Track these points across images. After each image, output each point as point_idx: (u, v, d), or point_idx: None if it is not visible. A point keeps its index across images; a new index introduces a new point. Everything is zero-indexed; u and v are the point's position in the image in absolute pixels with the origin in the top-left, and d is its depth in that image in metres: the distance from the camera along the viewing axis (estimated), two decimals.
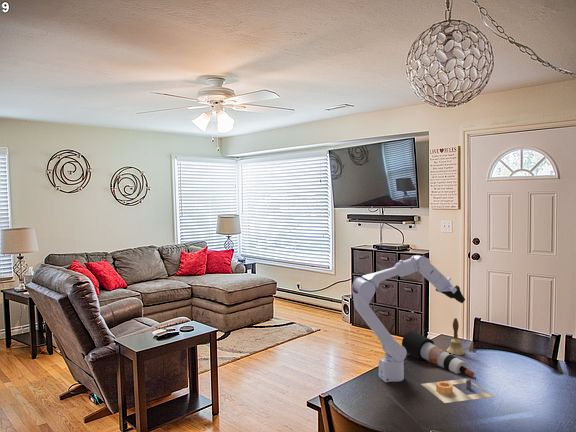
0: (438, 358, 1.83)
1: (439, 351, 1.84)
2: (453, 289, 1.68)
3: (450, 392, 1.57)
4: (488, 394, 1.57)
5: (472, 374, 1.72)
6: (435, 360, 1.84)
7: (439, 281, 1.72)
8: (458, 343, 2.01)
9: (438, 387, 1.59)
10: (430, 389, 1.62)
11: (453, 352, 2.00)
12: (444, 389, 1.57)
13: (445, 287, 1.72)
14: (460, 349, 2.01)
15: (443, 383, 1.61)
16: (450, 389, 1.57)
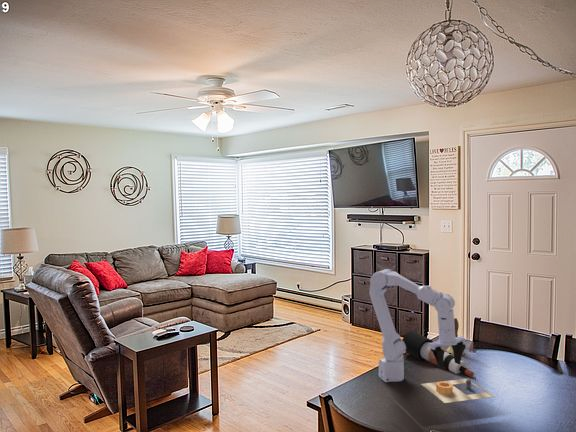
0: None
1: None
2: (431, 345, 1.57)
3: (450, 392, 1.57)
4: (488, 394, 1.57)
5: (472, 374, 1.72)
6: (435, 360, 1.84)
7: (439, 331, 1.60)
8: None
9: (438, 387, 1.59)
10: (430, 389, 1.62)
11: None
12: (444, 389, 1.57)
13: (439, 341, 1.59)
14: None
15: (443, 383, 1.61)
16: (450, 389, 1.57)
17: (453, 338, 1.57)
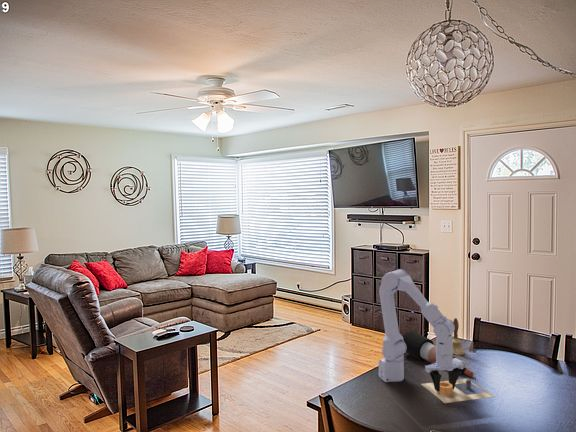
0: None
1: None
2: (426, 368, 1.58)
3: (450, 392, 1.57)
4: (488, 394, 1.57)
5: (471, 374, 1.72)
6: (435, 360, 1.83)
7: (436, 355, 1.59)
8: (458, 343, 2.01)
9: None
10: (430, 389, 1.62)
11: (453, 352, 2.00)
12: (444, 389, 1.57)
13: (436, 364, 1.59)
14: (460, 349, 2.01)
15: (443, 383, 1.61)
16: (450, 389, 1.57)
17: (449, 363, 1.57)
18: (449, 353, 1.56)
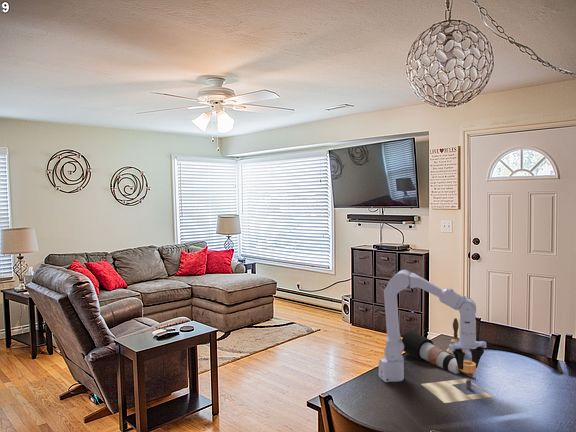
0: (437, 358, 1.83)
1: (438, 351, 1.84)
2: (450, 346, 1.59)
3: (474, 370, 1.59)
4: (488, 394, 1.57)
5: (471, 374, 1.72)
6: (434, 360, 1.83)
7: (459, 334, 1.61)
8: None
9: None
10: (430, 389, 1.62)
11: None
12: (467, 367, 1.59)
13: (459, 343, 1.61)
14: None
15: (466, 362, 1.63)
16: (474, 367, 1.59)
17: (473, 342, 1.58)
18: (474, 331, 1.58)
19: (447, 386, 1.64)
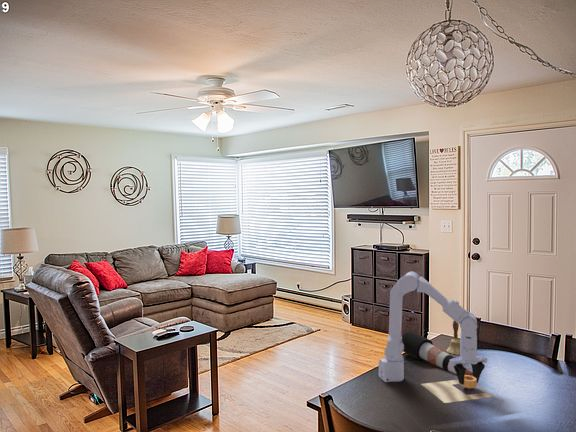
0: (437, 358, 1.82)
1: (438, 351, 1.84)
2: (451, 361, 1.60)
3: (474, 385, 1.59)
4: (488, 394, 1.57)
5: (471, 374, 1.72)
6: (434, 360, 1.83)
7: (460, 349, 1.61)
8: (458, 343, 2.01)
9: None
10: (430, 389, 1.62)
11: (453, 352, 2.00)
12: (468, 382, 1.59)
13: (460, 358, 1.61)
14: None
15: (467, 377, 1.63)
16: (474, 382, 1.59)
17: (474, 357, 1.59)
18: (475, 346, 1.59)
19: (447, 386, 1.64)
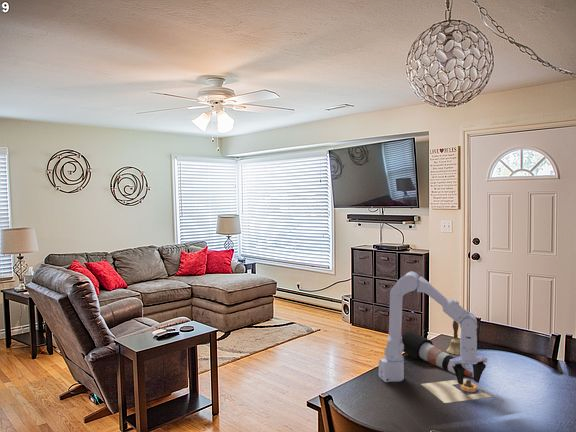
0: (437, 358, 1.82)
1: (438, 351, 1.84)
2: (451, 361, 1.60)
3: None
4: (488, 394, 1.57)
5: (471, 374, 1.72)
6: (434, 360, 1.83)
7: (460, 349, 1.61)
8: (458, 343, 2.01)
9: (462, 388, 1.61)
10: (430, 389, 1.62)
11: (453, 352, 2.00)
12: (468, 390, 1.59)
13: (460, 358, 1.61)
14: None
15: None
16: (474, 390, 1.59)
17: (474, 357, 1.59)
18: (475, 346, 1.59)
19: (447, 386, 1.64)
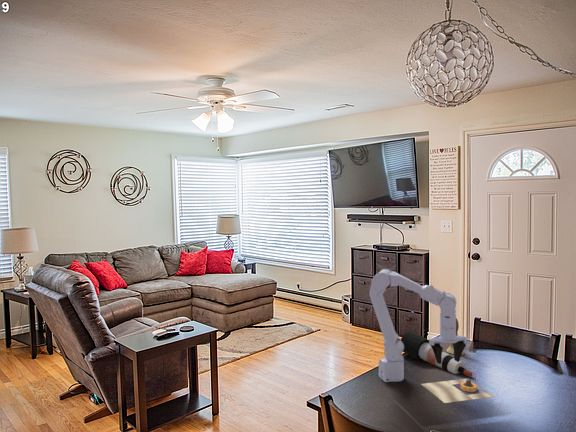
0: None
1: None
2: (430, 341, 1.62)
3: None
4: (488, 394, 1.57)
5: (471, 374, 1.72)
6: (433, 360, 1.83)
7: (440, 329, 1.64)
8: None
9: (462, 387, 1.61)
10: (430, 389, 1.62)
11: (453, 352, 2.00)
12: (468, 389, 1.59)
13: (439, 338, 1.64)
14: None
15: None
16: (474, 389, 1.59)
17: (453, 336, 1.61)
18: (454, 326, 1.61)
19: (447, 386, 1.64)
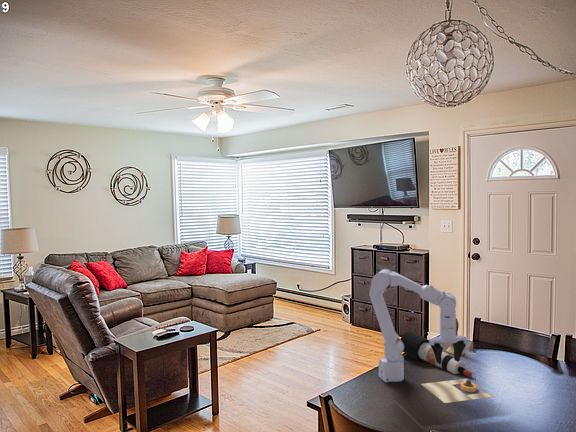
0: None
1: None
2: (430, 341, 1.62)
3: None
4: (488, 394, 1.57)
5: (470, 374, 1.72)
6: (433, 360, 1.83)
7: (440, 329, 1.64)
8: None
9: (462, 387, 1.61)
10: (430, 389, 1.62)
11: (453, 352, 2.00)
12: (468, 389, 1.59)
13: (439, 338, 1.64)
14: None
15: None
16: (474, 389, 1.59)
17: (453, 336, 1.61)
18: (454, 326, 1.61)
19: (447, 386, 1.64)
